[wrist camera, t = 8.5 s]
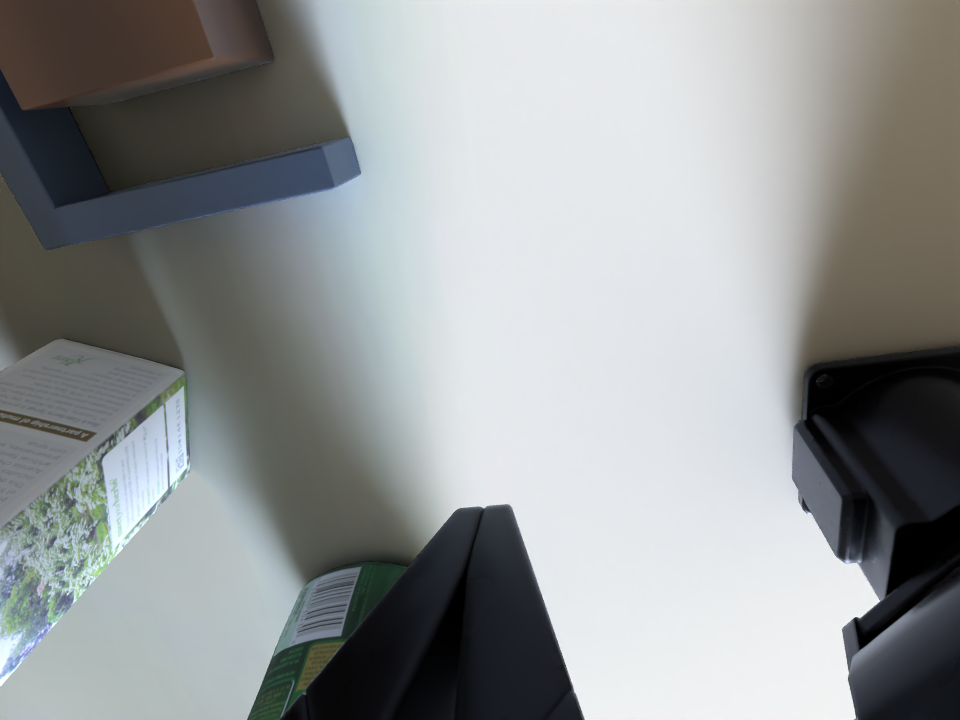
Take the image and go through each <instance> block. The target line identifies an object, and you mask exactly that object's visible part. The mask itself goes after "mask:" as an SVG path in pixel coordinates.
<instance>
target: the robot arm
mask: <svg viewBox="0 0 960 720" xmlns="http://www.w3.org/2000/svg"><path fill="white" fill-rule="evenodd" d="M822 375H827V378H826V379H825V380H823V381H820V382H816V381H817V379H818V378H819V377H820V376H822ZM792 479H793V481H794V483H795V485H796V487H797V488H798V490H799V496H798V499H799V503H800V505H801V507H802V508H803V510H804V511H805V512H806V513H808V514H811V515H813V517H814V519H815V520H816V522H817V524H818V526H819V527H820V529H821V531H822V533H823V534H824V536H825V538H826V540H827V542H828V543H829V545H830V547H831V549H832V550H833V552H834V554H835V556H836V557H837V558H839V559H840V560H841V561H843V562H844V563H858V565H859V566H860V568H861V570H862V571H863V573H864V575H865V576H866V578H867V580H868V581H869V583H870V585H871V586H872V588H873V590H874V591H875V593H876V595H877V596H878V598H879V600H880V602H879V603H878V604H876V605H875V606H874V607H873V608H872V609H871V610H869V611H868V612H867V613H866V614H865V615H864V616H862V617H861V618H857V617H855V618H854V619H853V620H851V621H850V622H849V623H848V624H847V625H846V626H844V627H843V629H842V632H843V638H844V644H845V651H846V657H847V664H848V670H849V676H848V681H849V685H850V690H851V694H852V699H853V703H854V708H855V714H856V719H855V720H960V346H957V347H949V348H940V349H932V350H923V351H915V352H907V353H898V354H890V355H882V356H873V357H865V358H856V359H848V360H840V361H831V362H823V363H818V364H814V365H813V366H811V367H809V368H808V370H807V371H806V372H805V375H804V385H803V407H802V420H799V421H798V422H797V424H796V425H795V426H794V441H793V467H792ZM305 694H306V695H305ZM305 694H300V695H299V696H298V698H297V699H296V700H295V701H294V702H293V704H292V705H291V706H290V707H289V708H288V709H287V711H286V712H285V713H284V714H283V715H282V717H281V718H280V719H279V720H585V719H584V716H583V714H582V711H581V708H580V705H579V702H578V699H577V696H576V694H575V693H574V689H573V685H572V682H571V679H570V676H569V674H568V671H567V668H566V665H565V662H564V659H563V656H562V653H561V650H560V647H559V644H558V641H557V638H556V635H555V633H554V630H553V627H552V624H551V621H550V618H549V615H548V612H547V609H546V606H545V603H544V600H543V597H542V595H541V592H540V589H539V586H538V583H537V580H536V577H535V574H534V571H533V568H532V565H531V562H530V559H529V556H528V554H527V551H526V548H525V545H524V542H523V539H522V536H521V533H520V530H519V527H518V524H517V521H516V518H515V515H514V513H513V510H512V507H511V506H510V505H508V504H505V505H493V506H487V507H486V508H484V509H483V508H482V507H468V508H460V509H457V510H456V511H455V512H454V513H453V514H452V515H451V517H450V518H449V519H448V520H447V521H446V522H445V524H444V525H443V526H442V527H441V528H440V530H439V531H438V532H437V533H436V534H435V536H434V537H433V538H432V539H431V540H430V541H429V543H428V544H427V545H426V546H425V547H424V549H423V550H422V551H421V552H420V553H419V554H418V556H417V557H416V558H415V559H414V560H413V562H412V563H411V564H410V565H409V566H408V568H407V569H406V570H405V571H404V572H403V573H402V575H401V576H400V577H399V578H398V579H397V581H396V582H395V583H394V584H393V585H392V587H391V588H390V589H389V590H388V591H387V592H386V594H385V595H384V596H383V597H382V598H381V600H380V601H379V602H378V603H377V604H376V605H375V607H374V608H373V609H372V610H371V611H370V613H369V614H368V615H367V616H366V617H365V619H364V620H363V621H362V622H361V623H360V624H359V626H358V627H357V628H356V629H355V630H354V632H353V633H352V634H351V635H350V636H349V637H348V639H347V640H346V641H345V642H344V643H343V645H342V646H341V647H340V648H339V649H338V651H337V652H336V653H335V654H334V655H333V656H332V658H331V659H330V660H329V661H328V662H327V664H326V665H325V666H324V667H323V668H322V669H321V671H320V672H319V673H318V674H317V675H316V677H315V678H314V679H313V680H312V681H311V683H310V684H309V685H308V686H307V687H306V689H305Z"/></svg>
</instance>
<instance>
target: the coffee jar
mask: <svg viewBox="0 0 960 720" xmlns="http://www.w3.org/2000/svg"><path fill="white" fill-rule="evenodd" d="M407 568H408V567H404V566H400V565H396V564H392V563H377V562H361V563H354V564H349V565H345V566H342V567H338V568H335V569H332V570H330V571H328V572H326V573H324V574H321V575H319V576H317V577H316V578H314V579H312V580H311V581H309V582H308V583H307V584H306V585H305V587H304V588H303V589H302V590H301V592H300V594H299V596H298V598H297V600H296V603H295V605H294V607H293V609H292V612H291V614H290V616H289V618H288V620H287V623H286V625H285V627H284V630H283V632H282V634H281V636H280V639H279V641H278V644H277V646H276V648H275V651H274V654H273V656H272V659H271V661H270V664H269V667H268V669H267V672H266V674H265V677H264V680H263V682H262V685H261V687H260V690H259V692H258V695H257V697H256V700H255V702H254V705H253V707H252V709H251V712H250V714H249V717H248V719H247V720H279V719H280V718H281V717H282V715H283V714H284V713H285V712H286V711H287V709H288V708H289V707H290V706H291V705H292V704H293V702H294V701H295V700H296V699H297V698H298V696H299V695H300V694H305V689H306V687H307V686H308V685H309V684H310V683H311V681H312V680H313V679H314V678H315V677H316V675H317V674H318V673H319V672H320V671H321V669H322V668H323V667H324V666H325V665H326V664H327V662H328V661H329V660H330V659H331V658H332V656H333V655H334V654H335V653H336V652H337V651H338V649H339V648H340V647H341V646H342V645H343V643H344V642H345V641H346V640H347V639H348V637H349V636H350V635H351V634H352V633H353V632H354V630H355V629H356V628H357V627H358V626H359V624H360V623H361V622H362V621H363V620H364V619H365V617H366V616H367V615H368V614H369V613H370V611H371V610H372V609H373V608H374V607H375V605H376V604H377V603H378V602H379V601H380V600H381V598H382V597H383V596H384V595H385V594H386V592H387V591H388V590H389V589H390V588H391V587H392V585H393V584H394V583H395V582H396V581H397V579H398V578H399V577H400V576H401V575H402V573H403V572H404V571H405V570H406V569H407ZM305 695H306V694H305Z"/></svg>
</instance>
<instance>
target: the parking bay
mask: <svg viewBox="0 0 960 720" xmlns="http://www.w3.org/2000/svg"><path fill="white" fill-rule="evenodd" d="M0 172H1V174H2V175H3V177H4V179H5V181H6V182H7V184H8V186H9V188H10V189H11V191H12V193H13V195H14V196H15V198H16V200H17V202H18V204H19V205H20V207H21V209H22V211H23V212H24V214H25V216H26V218H27V219H28V221H29V223H30V225H31V226H32V228H33V230H34V232H35V233H36V235H37V237H38V239H39V240H40V242H41V244H42V246H43V247H44V249H45V250H51V249H55V248H60V247H65V246H69V245H74V244H79V243H83V242H88V241H93V240H97V239H102V238H107V237H111V236H116V235H121V234H126V233H130V232H135V231H140V230H144V229H149V228H154V227H158V226H163V225H168V224H172V223H177V222H182V221H186V220H191V219H196V218H201V217H205V216H210V215H215V214H219V213H224V212H229V211H233V210H238V209H243V208H247V207H252V206H257V205H261V204H266V203H271V202H275V201H280V200H285V199H290V198H294V197H299V196H304V195H308V194H313V193H318V192H322V191H327V190H332V189H335V188H337V187H338V186H340V185H342V184H344V183H346V182H348V181H350V180H351V179H353V178H355V177H357V176H359V175H360V174H361V171H360V168H359V165H358V161H357V158H356V155H355V151H354V148H353V144H352V141H351V138H350V137H344V138H340V139H336V140H331V141H327V142H323V143H319V144H314V145H310V146H306V147H301V148H297V149H293V150H289V151H284V152H280V153H276V154H271V155H267V156H263V157H259V158H254V159H250V160H246V161H241V162H237V163H233V164H229V165H224V166H220V167H216V168H211V169H207V170H203V171H199V172H194V173H190V174H186V175H181V176H177V177H173V178H169V179H164V180H160V181H156V182H151V183H147V184H143V185H139V186H134V187H130V188H126V189H121V190H117V191H113V192H109V190H108V188H107V186H106V184H105V182H104V180H103V178H102V176H101V174H100V172H99V170H98V168H97V166H96V164H95V162H94V160H93V158H92V156H91V154H90V152H89V150H88V148H87V146H86V144H85V142H84V140H83V138H82V136H81V134H80V132H79V130H78V127H77V125H76V123H75V121H74V119H73V117H72V115H71V113H70V111H69V109H68V107H63V108H50V109H38V110H22V109H21V107H20V105H19V103H18V101H17V99H16V97H15V96H14V94H13V92H12V90H11V88H10V86H9V84H8V82H7V80H6V78H5V76H4V74H3V73H2V71H1V69H0Z"/></svg>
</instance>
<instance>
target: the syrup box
mask: <svg viewBox="0 0 960 720" xmlns="http://www.w3.org/2000/svg"><path fill="white" fill-rule="evenodd" d="M186 382H187V381H186V373H185V372H184V371H183V370H180V369H177V368H173V367H169V366H166V365H163V364H159V363H156V362H153V361H149V360H145V359H142V358H138V357H133V356H130V355H126V354H122V353H118V352H114V351H110V350H106V349H102V348H98V347H94V346H89V345H85V344H82V343H78V342H73V341H69V340H65V339H59V340H54V341H52V342H50V343H49V344H47V345H45V346H43V347H42V348H40V349H38V350H36V351H35V352H33V353H31V354H29V355H28V356H26V357H24V358H23V359H21V360H19V361H18V362H16V363H14V364H13V365H11V366H9V367H7V368H6V369H4V370H2V371H0V686H1V685H2V684H3V683H4V682H5V680H6V679H7V678H8V677H9V676H10V675H11V674H12V673H13V671H14V670H15V669H16V668H17V667H18V666H19V664H20V663H21V662H22V661H23V660H24V659H25V658H26V657H27V656H28V654H29V653H30V652H31V651H32V650H33V649H34V648H35V646H36V645H37V644H38V643H39V642H40V641H41V640H42V638H43V637H44V636H45V635H46V634H47V633H48V632H49V631H50V629H51V628H52V627H53V626H54V625H55V624H56V623H57V621H58V620H59V619H60V618H61V617H62V616H63V615H64V613H65V612H66V611H67V610H68V609H69V608H70V607H71V606H72V605H73V604H74V602H75V601H76V600H77V599H78V598H79V597H80V596H81V595H82V593H83V592H84V591H85V590H86V589H87V588H88V587H89V586H90V584H91V583H92V582H93V581H94V580H95V579H96V578H97V577H98V575H99V574H100V573H101V572H102V571H103V570H104V568H105V567H106V566H107V565H108V564H109V563H110V562H111V561H112V560H113V558H114V557H115V556H116V555H117V554H118V553H119V552H120V551H121V550H122V548H123V547H124V546H125V545H126V544H127V543H128V542H129V541H130V539H131V538H132V537H133V536H134V535H135V534H136V532H137V531H138V530H139V529H140V528H141V527H142V526H143V525H144V524H145V523H146V522H147V520H148V519H149V518H150V517H151V516H152V515H153V513H154V512H155V511H156V510H157V509H158V507H159V506H160V505H161V504H162V503H163V502H164V501H165V500H166V498H167V497H168V496H169V495H170V494H171V493H172V492H173V491H174V489H175V488H176V487H177V486H178V485H179V484H180V483H181V482H182V480H183V479H184V478H185V477H186V476H187V475H188V474H189V473H190V453H189V435H188V434H189V431H188V410H187V383H186Z"/></svg>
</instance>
